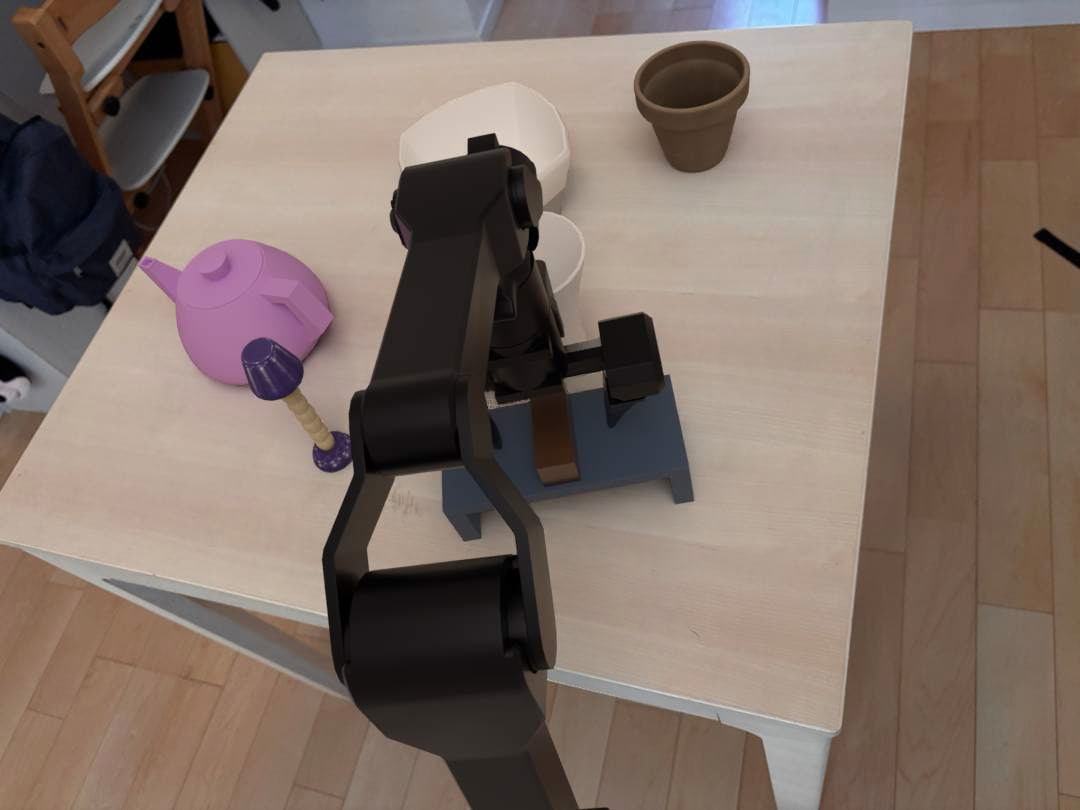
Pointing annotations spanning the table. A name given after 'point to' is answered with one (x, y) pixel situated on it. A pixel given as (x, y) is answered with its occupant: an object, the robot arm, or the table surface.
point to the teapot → (241, 304)
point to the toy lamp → (293, 398)
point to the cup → (563, 269)
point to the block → (554, 439)
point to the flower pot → (693, 100)
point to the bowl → (516, 124)
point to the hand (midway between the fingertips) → (554, 433)
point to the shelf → (579, 455)
